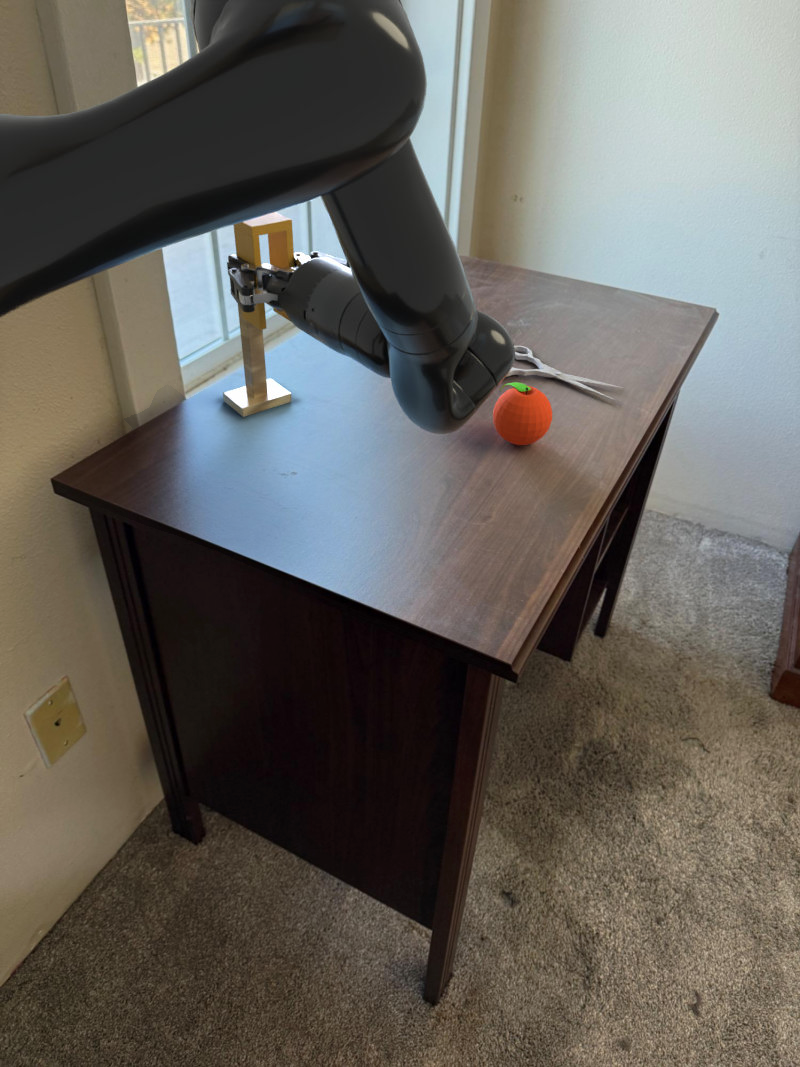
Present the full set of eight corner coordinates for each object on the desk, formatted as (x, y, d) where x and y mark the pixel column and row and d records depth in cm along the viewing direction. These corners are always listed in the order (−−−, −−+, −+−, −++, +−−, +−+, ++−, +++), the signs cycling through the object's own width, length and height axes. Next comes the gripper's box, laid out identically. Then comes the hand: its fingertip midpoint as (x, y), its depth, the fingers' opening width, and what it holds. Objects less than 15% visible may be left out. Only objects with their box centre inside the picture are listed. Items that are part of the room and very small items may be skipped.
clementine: (472, 431, 91) (478, 378, 87) (516, 417, 94) (524, 365, 90) (515, 462, 86) (523, 407, 82) (559, 446, 89) (570, 393, 85)
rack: (264, 434, 89) (251, 285, 77) (223, 401, 95) (206, 257, 83) (313, 417, 92) (307, 272, 81) (271, 386, 98) (260, 247, 87)
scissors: (505, 340, 110) (635, 377, 102) (504, 345, 111) (634, 382, 103) (471, 366, 103) (608, 407, 95) (470, 371, 104) (607, 413, 95)
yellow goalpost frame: (260, 330, 82) (251, 226, 75) (242, 318, 84) (232, 217, 78) (297, 320, 84) (292, 219, 78) (279, 309, 87) (272, 210, 80)
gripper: (400, 256, 73) (306, 214, 84) (274, 285, 66) (188, 235, 76) (398, 329, 78) (309, 280, 88) (280, 363, 71) (198, 306, 81)
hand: (253, 259), depth 82 cm, fingers closed on yellow goalpost frame, 4 cm apart
